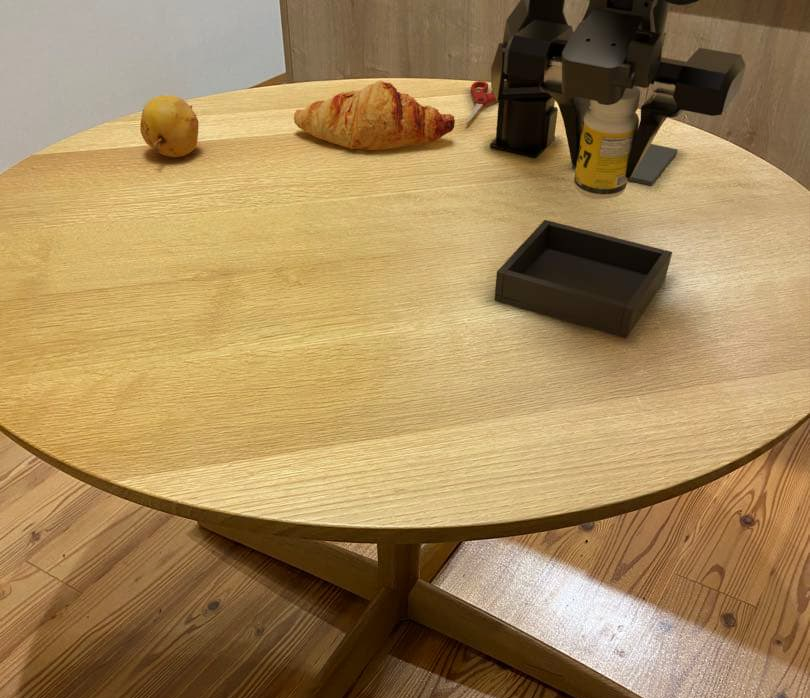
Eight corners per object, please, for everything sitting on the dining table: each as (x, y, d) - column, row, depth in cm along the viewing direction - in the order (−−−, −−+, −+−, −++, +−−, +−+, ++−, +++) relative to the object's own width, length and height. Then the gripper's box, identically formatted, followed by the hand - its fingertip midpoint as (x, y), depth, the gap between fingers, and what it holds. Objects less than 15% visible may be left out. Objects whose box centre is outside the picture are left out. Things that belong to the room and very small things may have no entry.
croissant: (293, 168, 105) (277, 124, 97) (305, 104, 107) (290, 55, 100) (451, 175, 102) (448, 129, 95) (460, 108, 105) (458, 59, 97)
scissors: (511, 91, 113) (511, 83, 112) (486, 130, 104) (486, 121, 103) (474, 86, 114) (474, 79, 113) (446, 124, 105) (446, 116, 105)
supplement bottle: (569, 176, 74) (584, 78, 68) (619, 175, 74) (639, 77, 68) (577, 201, 71) (593, 101, 65) (629, 200, 71) (651, 100, 65)
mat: (572, 167, 97) (572, 163, 96) (601, 137, 103) (602, 133, 102) (651, 185, 94) (652, 181, 93) (677, 153, 99) (677, 149, 99)
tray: (494, 299, 78) (496, 271, 76) (541, 247, 85) (544, 219, 82) (626, 339, 74) (633, 310, 71) (665, 280, 80) (672, 251, 78)
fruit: (176, 125, 93) (213, 91, 99) (121, 103, 93) (161, 71, 99) (176, 179, 98) (211, 144, 104) (124, 159, 98) (163, 125, 104)
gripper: (480, -27, 58) (469, 183, 70) (735, 12, 52) (675, 235, 64) (541, -63, 64) (521, 136, 76) (775, -32, 58) (714, 179, 70)
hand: (602, 170), depth 71 cm, fingers closed on supplement bottle, 5 cm apart
